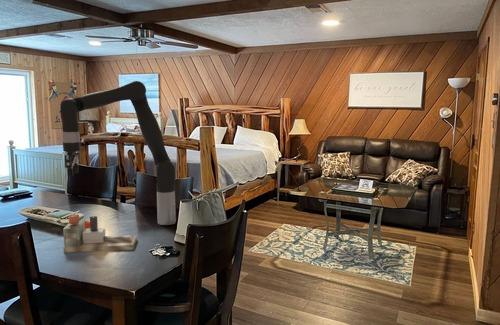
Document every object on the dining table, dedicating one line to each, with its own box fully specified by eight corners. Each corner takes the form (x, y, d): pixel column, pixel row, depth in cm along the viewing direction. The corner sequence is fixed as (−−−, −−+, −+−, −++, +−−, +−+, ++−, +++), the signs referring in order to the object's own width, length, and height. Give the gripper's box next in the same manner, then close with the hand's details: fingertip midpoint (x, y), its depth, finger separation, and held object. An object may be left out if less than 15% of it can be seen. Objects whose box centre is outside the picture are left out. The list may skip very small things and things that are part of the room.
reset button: (80, 221, 167) (80, 214, 166) (77, 224, 163) (77, 217, 162) (70, 221, 166) (70, 214, 166) (67, 224, 162) (67, 217, 162)
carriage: (105, 238, 171) (104, 214, 169) (102, 243, 165) (101, 218, 163) (86, 239, 169) (85, 215, 168) (83, 244, 164) (81, 219, 162)
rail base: (136, 239, 176) (136, 218, 174) (133, 249, 164) (132, 227, 163) (72, 242, 172) (71, 221, 170) (63, 252, 160) (62, 229, 158)
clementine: (77, 233, 184) (76, 218, 183) (92, 231, 187) (92, 217, 186) (77, 238, 177) (76, 223, 176) (93, 236, 179) (92, 222, 178)
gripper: (74, 142, 175) (76, 177, 178) (84, 139, 189) (85, 172, 192) (57, 142, 174) (59, 177, 177) (68, 140, 188) (70, 172, 191)
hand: (73, 174), depth 184 cm, fingers open, 8 cm apart
